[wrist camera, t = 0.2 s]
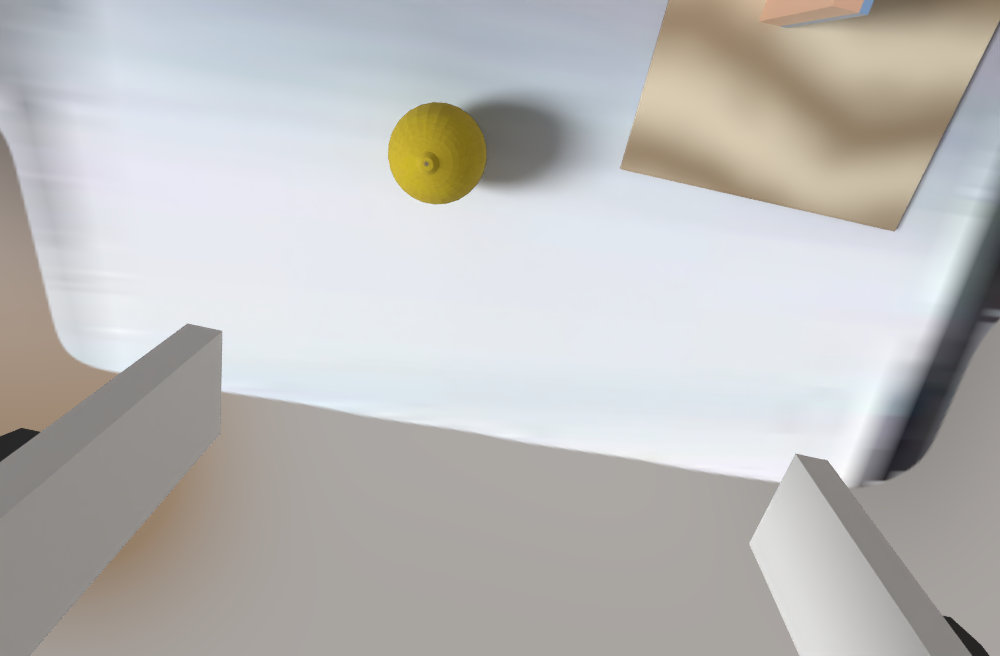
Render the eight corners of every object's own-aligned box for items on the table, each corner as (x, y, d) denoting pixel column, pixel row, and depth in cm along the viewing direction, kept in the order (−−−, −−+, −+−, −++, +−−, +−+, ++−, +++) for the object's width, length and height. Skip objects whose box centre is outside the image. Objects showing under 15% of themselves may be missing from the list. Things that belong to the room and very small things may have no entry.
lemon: (500, 112, 36) (491, 123, 29) (479, 199, 39) (466, 229, 31) (413, 88, 36) (382, 93, 29) (397, 177, 38) (364, 202, 31)
